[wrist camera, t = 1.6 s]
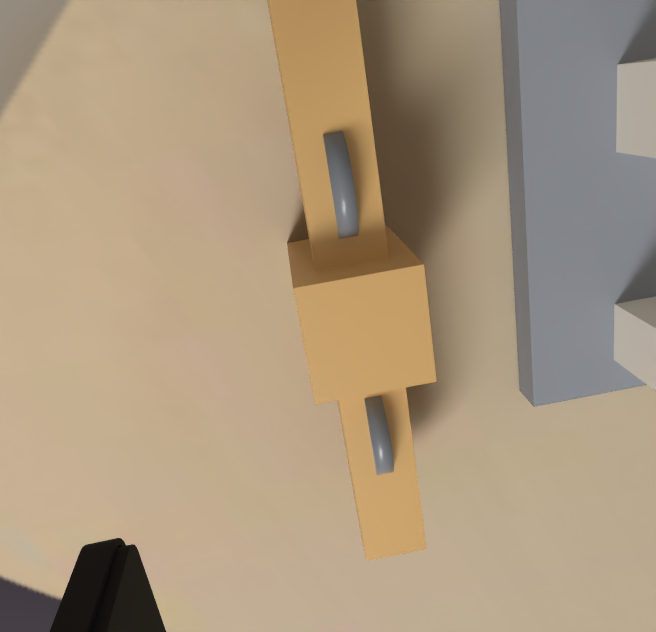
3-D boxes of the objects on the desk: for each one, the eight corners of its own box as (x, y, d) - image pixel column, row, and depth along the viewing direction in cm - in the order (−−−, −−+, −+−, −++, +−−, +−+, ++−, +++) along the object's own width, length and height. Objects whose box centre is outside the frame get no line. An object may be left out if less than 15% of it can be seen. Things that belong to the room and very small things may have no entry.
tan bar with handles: (358, 0, 21) (392, -37, 15) (418, 475, 28) (456, 571, 22) (244, 19, 21) (236, -11, 15) (334, 492, 28) (351, 592, 22)
